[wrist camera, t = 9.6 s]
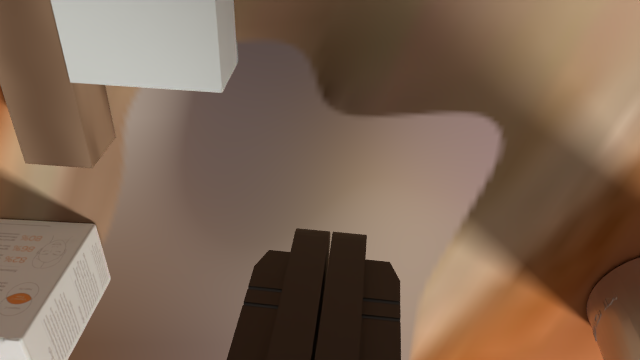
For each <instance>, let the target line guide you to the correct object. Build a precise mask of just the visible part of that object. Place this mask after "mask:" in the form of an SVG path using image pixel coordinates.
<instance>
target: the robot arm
mask: <svg viewBox="0 0 640 360" xmlns="http://www.w3.org/2000/svg"><path fill="white" fill-rule="evenodd" d="M366 239H367V236H366V235H360V234H350V233H340V232H333V234H332V241H331V248H330V255H329V247H330V232H328V231H317V230H308V229H296V231H295V235H294V239H293V244H292V248H291V252H283V251H273V250H269V251H268V252H267V253H266V254H265V255H264V256H263V258H261V260H260V261H259V262H258V263H257V264H256V265H255V266H254V269H253V273H252V276H251V279H250V283H249V288H248V290H247V293H246V297H245V300H244V305H243V306H242V310H241V313H240V317H239V320H238V323H237V327H236V330H235V333H234V337H233V340H232V344H231V347H230V350H229V354H228V357H227V360H401V338H400V337H401V333H400V280H399V278H398V276H397V275H396V273H395V271H394V269H393V267H392V265H391V264H390V262H384V261H374V260H365V255H366ZM587 317H588V319H589V322H590V324H591V327H592V330H593V334H594V337H595V340H596V341H597V343H598V346H599V348H600V351H601V354H602V356H603V359H604V360H640V258H637V259H634V260H631V261H628V262H627V263H625V264H623V265H621V266H619V267H617V268H615V269H614V270H612V271H611V272H610V273H608V274H607V275H606V276H604V277H603V278H602V279H601V280H600V281H599V282H598V283H597V285H596V286H595V287H594V289H593V290H592V292H591V294H590V295H589V298H588V302H587Z"/></svg>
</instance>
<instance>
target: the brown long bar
mask: <svg viewBox="0 0 640 360" xmlns="http://www.w3.org/2000/svg"><path fill="white" fill-rule="evenodd" d="M0 85H1V88H2V92H3V95H4V98H5V101H6V104H7V107H8V110H9V113H10V117H11V120H12V123H13V126H14V129H15V132H16V135H17V138H18V142H19V145H20V148H21V151H22V154H23V157H24V160H25V163H28V164H41V165H55V166H68V167H81V168H93V167H94V166H95V164H96V163H97V162H98V160H99V159H100V158H101V156H102V155H103V154H104V152H105V151H106V150H107V148H108V147H109V146H110V144H111V143H112V142H113V140H114V139H115V138H116V137H115V132H114V127H113V122H112V117H111V113H110V108H109V103H108V98H107V93H106V88H105V85H99V84H84V83H70V79H69V75H68V71H67V66H66V62H65V58H64V54H63V50H62V46H61V42H60V37H59V33H58V29H57V25H56V21H55V17H54V13H53V8H52V4H51V0H0Z"/></svg>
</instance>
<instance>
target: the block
mask: <svg viewBox="0 0 640 360" xmlns="http://www.w3.org/2000/svg"><path fill="white" fill-rule="evenodd" d="M51 4H52V8H53V13H54V17H55V21H56V25H57V29H58V33H59V37H60V42H61V46H62V50H63V54H64V58H65V62H66V66H67V71H68V75H69V79H70V83H84V84H99V85H114V86H129V87H144V88H161V89H174V90H190V91H204V92H219V93H222V92H223V90H224V88H225V86H226V84H227V82H228V81H229V79H230V77H231V75H232V73H233V71H234V69H235V67H236V65H237V63H238V47H237V42H236V32H235V15H234V0H51Z"/></svg>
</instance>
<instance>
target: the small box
mask: <svg viewBox="0 0 640 360" xmlns="http://www.w3.org/2000/svg"><path fill="white" fill-rule="evenodd" d="M110 279H111V277H110V274H109V271H108V267H107V263H106V259H105V256H104V253H103V249H102V245H101V242H100V239H99V235H98V232H97V228H96V225H95V224H90V223H68V222H50V221H32V220H11V219H0V360H68V358H69V356H70V354H71V352H72V351H73V349H74V347H75V345H76V343H77V342H78V340H79V337H80V336H81V334H82V332H83V330H84V328H85V327H86V325H87V323H88V321H89V319H90V317H91V315H92V314H93V312H94V310H95V308H96V306H97V304H98V302H99V301H100V299H101V297H102V295H103V293H104V291H105V289H106V287H107V285H108V284H109V282H110Z"/></svg>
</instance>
